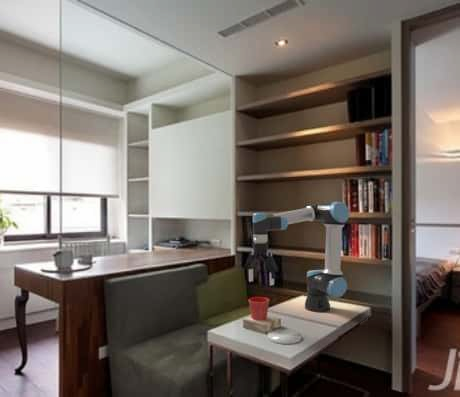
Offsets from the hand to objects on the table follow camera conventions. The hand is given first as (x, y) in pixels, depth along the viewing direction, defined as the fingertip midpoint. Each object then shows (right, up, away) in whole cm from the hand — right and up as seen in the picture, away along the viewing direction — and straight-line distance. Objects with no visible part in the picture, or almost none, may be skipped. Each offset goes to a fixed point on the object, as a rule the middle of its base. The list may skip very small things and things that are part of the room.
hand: (261, 283), depth 178 cm
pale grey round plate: (+10, -22, -16) cm, 29 cm away
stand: (0, -23, -1) cm, 23 cm away
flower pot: (-1, -19, +1) cm, 19 cm away
